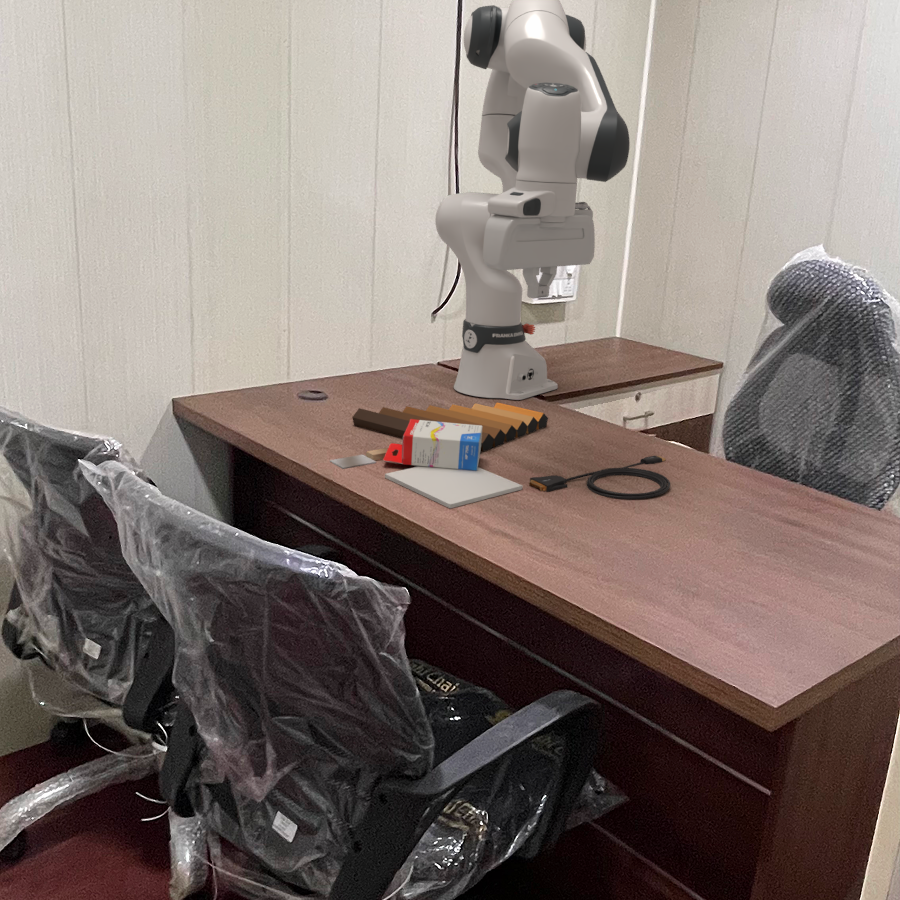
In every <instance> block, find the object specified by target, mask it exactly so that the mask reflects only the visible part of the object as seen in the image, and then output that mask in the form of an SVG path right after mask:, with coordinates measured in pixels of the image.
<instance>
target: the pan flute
mask: <svg viewBox="0 0 900 900" xmlns="http://www.w3.org/2000/svg"><path fill="white" fill-rule="evenodd" d="M351 418H352V423H353V426H355V427H359V428H363V429H366V430H370V431H373V432H378V433H381V434H385V435H389V436H392V437H397V438H400V439H403V435H404V433H405V431H406V429H407V427H408V424H409V422H410V419H415V420H425V421H436V422H447V423H458V424H469V425H481V426H482V440H481V451H480V452H482V453H484V452H487V451H489V450H491V449H493V447H494V448H496V447H499V446H501V445H504V443H510V442H512V441H514V440H515V439H519V438H522V437H524V436H526V435H527V434H532V433H535V432H536V431H537V430H542V429H544V428H546V427H547V424H548V421H549V417H548V416H547V415H546V414H545V413H544V412H540V411H537V410H532V409H528V408H524V407H520V406H516V405H511V404H510V405H509V404H507V403H506V404H505V403H501V402H496V403H495V405H494V406H489V405H483V404H479V403H474V404H473V406H472V407H465V406H461V405H458V404H453V403H452V404H451V406H450V407H449V408H444V407H439V406H435V405H431V404H430V405H428V407H427V408H426V410H424V409H420V408H416V407H412V406H408V405H406V406H405V408H404V409H403V410H402V411H400V410H396V409H392V408H388V407H384V406H383V407H382V408H381V409H380V410H379V412H376V411H372V410H367V409H363V408H360V407H359V408H358V409H357V410H356V412H355V413H354V414H353V415H352V417H351Z"/></svg>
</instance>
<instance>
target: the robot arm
mask: <svg viewBox="0 0 900 900" xmlns="http://www.w3.org/2000/svg"><path fill="white" fill-rule="evenodd" d="M470 14H471V15H470V17H469V19H468V20H467V22H466V26H465V27H464V32H463V47H464V50H465V53H466V56H465V57H466V59H467V61H468V62H469V63H470V64H471V65H473V66H474V67H478V68H479V69H483V70H487V69H490V70H491V71H490V75H489V79H488V83H487V86H486V90H485V95H484V100H483V104H482V113H481V120H480V121H481V122H480V132H479V142H478V148H477V155H478V159H479V161H480V163H481V165H482V166H483V167H484V168H485V169H486V170H487V171H489V172H490V173H491V174H493V175H494V176H496V177H498V178H499V179H500V180H501V184H502V191H501V192H502V193H487V192H476V191H475V192H473V191H467V192H461V193H460V192H458V193H453V194H449V195H447V196H445V197H444V198H443V199H442V201H441V202H440V204H439V205H438V206H437V209H436V213H435V220H434V222H435V228H436V231H437V234H438V236H439V238H440V239H441V240H442V242H443V243H444V244H445V245H447V246H448V248H449V249H450V250H451V251H452V252H453V254H454V255H455V257H456V258H457V260H458V262H459V264H460V266H461V269H462V271H463V276H464V277H463V278H464V281H465V318H464V319H463V320H462V321H463V322H462V334H461V337H462V343H463V345H462V348H461V349H462V350H461V356H460V361H459V365H458V371H457V376H456V379H455V381H454V384H453V389H454V390H455V391H457V392H458V393H461V394H464V395H469V396H473V397H479V398H487V399H506V400H507V399H508V400H516V401H519V400H520V401H521V400H524V399H525V400H526V399H528V398H531V397H535V396H537V395H540V394H544V393H547V392H550V391H555V390H557V389H558V383H557V382H556V381H554V380H551V379H550V378H548V367H547V366H548V365H547V361H546V359H545V358H544V357H543V355H541V354H540V353H539V352H538V351H537V350H536V349H535V348H534V347H533V346H532V345H531V344H530V343H528V341H527V339H526V335H525V334H528V335H533V334H535V330H536V326H535V325H534V324H529V323H525V324H522V322H521V317H522V302H523V301H522V300H523V287H522V284H521V282H520V280H519V278H518V277H517V276H515V275H514V274H513V273H512V272H510V271H513V270H522V276H523V278H524V281H525V284H526V285H527V289H526V290H527V291H526V295H527V297H528V298H530V299H542V298H549V296H550V288H551V285H552V283H553V281H554V279H555V278H556V276H557V271H558V267H568V266H583V265H590V264H591V263H592V261H593V259H594V257H595V246H596V243H595V242H596V241H595V240H596V239H595V234H596V233H595V223H594V220H593V216H594V211H593V210H592V208H591V206H590V205H589V204H588V203H587V202H586V201H578V202H577V191H578V190H577V187H578V179H586V180H588V181H596V182H604V183H606V182H608V181H609V180H611V179H613V178H614V177H616V175H618V174H619V173H620V172H621V171H622V170H624V168H625V167H627V164H628V163H627V162H628V159H629V154H630V148H631V146H630V145H631V144H630V143H631V142H630V134H629V129H628V125H627V122H626V121H625V120H624V118H623V117H622V116H621V114H620V113H619V111H618V110H617V107H616V105H615V104H614V101H613V99H612V96H611V93H610V91H609V89H608V87H607V86H608V85H607V84H606V81H605V79H604V76H603V74H602V72H601V69H600V66H599V65H598V62H597V61H596V59H595V57H594V56H592V55H591V54H590V53H588V52H587V51H586V49H587V38H586V32H585V31H586V29H585V26H584V24H583V22H582V20H580V19H578V18H576V17H574V16H572V15H569V14H566V12H565V9H564V7H563V5H562V3H561V1H560V0H511V3H510V4H509V7H508V6H507V7H506V6H500V7H499V6H496V5H484V6H479V7H477V8H476V9H475V10H473V11H472V12H471V13H470ZM540 273H542V274H541V276H540V279H539V280H538V277H537V276H539V275H540Z"/></svg>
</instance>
